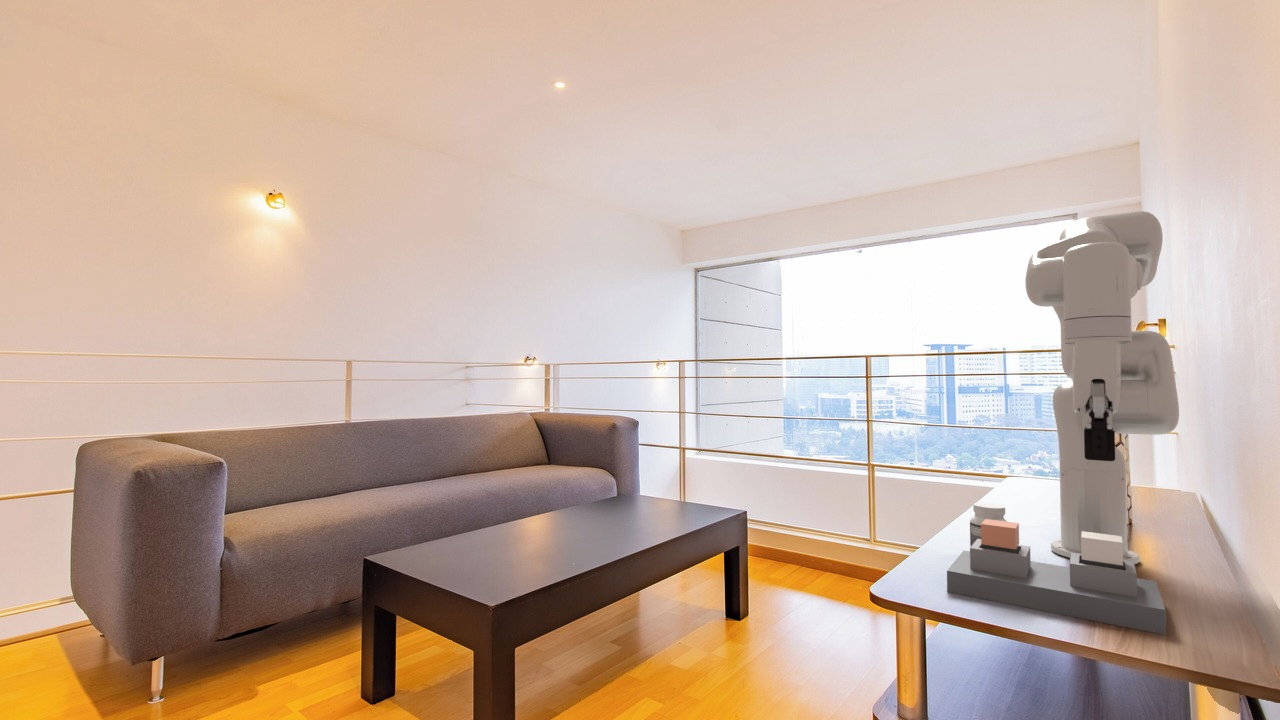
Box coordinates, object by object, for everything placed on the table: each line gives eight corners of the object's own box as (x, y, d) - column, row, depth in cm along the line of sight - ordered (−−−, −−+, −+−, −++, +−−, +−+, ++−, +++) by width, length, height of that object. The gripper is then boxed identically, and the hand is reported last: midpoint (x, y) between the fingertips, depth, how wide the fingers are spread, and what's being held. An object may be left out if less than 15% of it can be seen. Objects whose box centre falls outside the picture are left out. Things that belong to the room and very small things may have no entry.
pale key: (1082, 552, 85) (1081, 531, 85) (1121, 558, 82) (1121, 536, 82) (1081, 559, 81) (1081, 537, 81) (1123, 565, 78) (1122, 542, 79)
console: (963, 568, 98) (963, 532, 98) (1156, 602, 83) (1155, 559, 83) (947, 591, 87) (946, 549, 87) (1166, 635, 72) (1164, 584, 72)
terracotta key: (985, 538, 92) (985, 518, 92) (1019, 543, 89) (1018, 523, 89) (981, 544, 88) (980, 523, 88) (1016, 549, 86) (1015, 528, 86)
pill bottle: (984, 557, 104) (984, 500, 105) (1017, 567, 99) (1016, 507, 100) (963, 561, 102) (962, 503, 102) (995, 571, 97) (994, 509, 97)
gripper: (1066, 338, 92) (1068, 451, 91) (1061, 328, 78) (1063, 460, 77) (1128, 336, 88) (1131, 455, 87) (1135, 325, 74) (1138, 465, 73)
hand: (1099, 457), depth 82 cm, fingers open, 8 cm apart
